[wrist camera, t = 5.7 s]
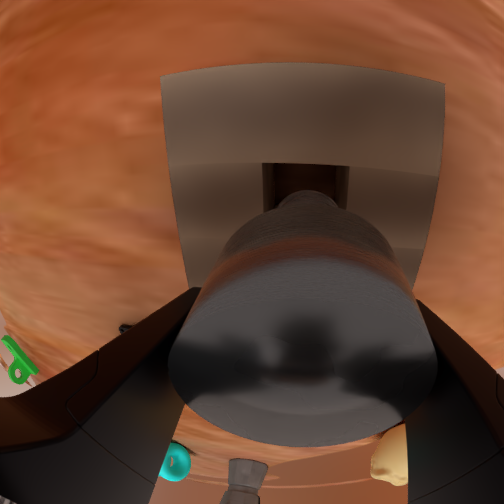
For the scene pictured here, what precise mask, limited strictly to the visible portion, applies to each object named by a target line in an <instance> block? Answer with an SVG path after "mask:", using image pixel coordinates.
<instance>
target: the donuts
mask: <svg viewBox="0 0 504 504" xmlns="http://www.w3.org/2000/svg"><path fill="white" fill-rule="evenodd" d="M171 457H172V458H173V465H172V466H171ZM170 466H171V467H170ZM190 468H191V459H190V455H189V453H188V451H187V450H186V449H185V448H184V447H183V446H182V445H180V444H177V443H170V445H169V448H168V451H167V454H166V456H165V459H164V462H163V464H162V467H161V470H160V473H159V475H158V476H162V477H163V478H165V479H167V480H169V481H179V480H182V479H183V478H185V477H186V476H187V474H188V473H189V471H190Z"/></svg>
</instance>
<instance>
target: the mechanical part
mask: <svg viewBox="0 0 504 504" xmlns="http://www.w3.org/2000/svg"><path fill="white" fill-rule="evenodd" d="M1 340H2V342H3V343H4V344H5V346H6V347H7V348H8V349H9V351H10V352H11V353H12V354H13V356H14V362H13V363H12V364H11V365H10V367H9V369H8V374H9V377H10V379H11V380H12V381H13V382H14V383H17V384H23V383H24V382H25V381H26V380H27V378H28V377H29V376H30V374H35V375H36V374H37V373H38V371H39V369H38V368H37V367H36V366H35V365H34V364H33V363H32V361H31V360H30V359H29V358H28V357H27V356H26V354H25V353H24V352H23V351H22V350H21V348H20V347H19V346H18V345H17V343H16V342H15V341H14V340H13V339H12V338H11V337H10V336H9V335H5V336H4V337H3V338H2V339H1ZM16 369H19V370H20V371H21V376H20V377H19V378H17V377H16V376H15V370H16Z"/></svg>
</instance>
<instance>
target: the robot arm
mask: <svg viewBox="0 0 504 504" xmlns="http://www.w3.org/2000/svg"><path fill="white" fill-rule="evenodd" d="M201 289H202V287H192V288H190V289H189V290H187V291H186V292H184V293H183V294H181V295H180V296H178V297H177V298H175V299H174V300H172V301H171V302H169V303H168V304H166V305H165V306H163V307H161V308H160V309H158V310H157V311H155V312H154V313H152V314H151V315H149V316H148V317H146V318H145V319H143V320H142V321H140V322H139V323H137V324H136V325H134V326H133V327H129V326H124V325H121V326H120V327H119V330H120V333H121V335H119V336H118V337H116V338H115V339H113V340H112V341H110V342H109V343H107V344H105V345H104V346H102V347H101V348H100V349H99V351H98V350H96V351H95V352H93V353H92V354H90V355H89V356H87V357H86V358H84V359H83V360H81V361H79V362H78V363H76V364H75V365H73V366H71V367H70V368H68V369H66V370H64V371H63V372H61V373H59V374H57V375H55V376H54V377H52V378H50V379H48V380H46V381H44V382H42V383H40V384H39V385H37V386H35V387H33V388H31V389H29V390H27V391H25V392H24V393H21V394H19V395H16V396H12V397H0V504H148V503H149V501H150V498H151V495H152V492H153V489H154V487H155V483H156V481H157V478H158V475H159V473H160V470H161V467H162V464H163V462H164V459H165V456H166V454H167V451H168V448H169V445H170V443H171V440H172V437H173V435H174V432H175V429H176V426H177V424H178V421H179V418H180V416H181V413H182V410H183V408H184V405H185V402H184V401H183V400H182V399H181V397H180V396H179V395H178V394H177V392H176V390H175V389H174V387H173V385H172V383H171V380H170V377H169V373H168V357H169V353H170V351H171V348H172V346H173V344H174V342H175V340H176V338H177V336H178V334H179V332H180V330H181V328H182V326H183V324H184V322H185V320H186V318H187V316H188V314H189V312H190V310H191V308H192V306H193V304H194V302H195V300H196V298H197V297H198V295H199V293H200V291H201ZM416 301H417V304H418V306H419V309H420V311H421V314H422V316H423V319H424V321H425V324H426V327H427V329H428V332H429V335H430V338H431V340H432V343H433V346H434V349H435V352H436V356H437V361H438V372H437V376H436V380H435V383H434V385H433V387H432V390H431V391H430V393H429V394H428V396H427V397H426V399H425V400H424V401H423V402H422V404H421V405H420V406H419V407H418V408H417V409H416V410H415V411H414V412H412V413H411V414H410V415H409V416H407V417H406V418H405V429H406V442H407V460H408V504H504V379H503V378H502V377H501V376H500V375H499V374H497V372H496V371H495V370H494V369H493V368H492V367H491V366H490V365H489V364H488V363H487V362H486V361H485V360H484V359H483V358H482V357H481V356H480V355H479V354H478V353H477V352H476V351H475V350H474V349H473V348H472V347H471V346H470V345H469V344H468V343H467V342H466V341H464V340H463V339H462V338H461V337H460V336H459V335H458V334H457V333H456V332H455V331H454V330H453V329H451V328H450V327H449V326H448V325H447V324H446V323H445V322H444V321H443V320H441V319H440V318H439V317H438V316H437V315H436V314H435V313H433V312H432V311H431V310H430V309H429V308H428V307H427V306H425V305H424V304H423V303H422V302H421V301H419V300H417V299H416Z"/></svg>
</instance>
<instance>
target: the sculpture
mask: <svg viewBox="0 0 504 504" xmlns="http://www.w3.org/2000/svg"><path fill="white" fill-rule="evenodd" d="M371 459H372V460H371V471H370V474H371V476H372V477H373V478H375V479H380V480H384V481H388V482H391V483H392V484H393V485H395V486H401V485H405V484H406V483H408V460H407V442H406V429H405V423H404V424H401V425H399V426H396V427H394V428H392V429H390V430H388V431H387V432H386V433H385V434H384V435H383V437H382V438H381V440H380V442H379V444H378V447H377V449H376V452H375V453H374V454H373V455H372V457H371Z"/></svg>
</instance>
